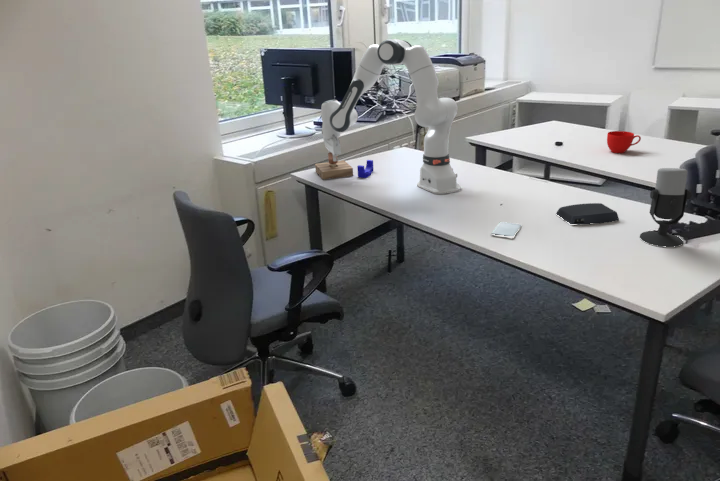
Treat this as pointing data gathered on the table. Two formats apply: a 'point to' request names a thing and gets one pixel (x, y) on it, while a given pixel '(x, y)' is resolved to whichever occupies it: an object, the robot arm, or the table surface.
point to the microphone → (667, 205)
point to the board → (334, 170)
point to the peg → (331, 160)
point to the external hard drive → (587, 213)
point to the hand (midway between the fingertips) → (333, 159)
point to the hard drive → (506, 229)
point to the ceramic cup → (620, 141)
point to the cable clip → (367, 171)
